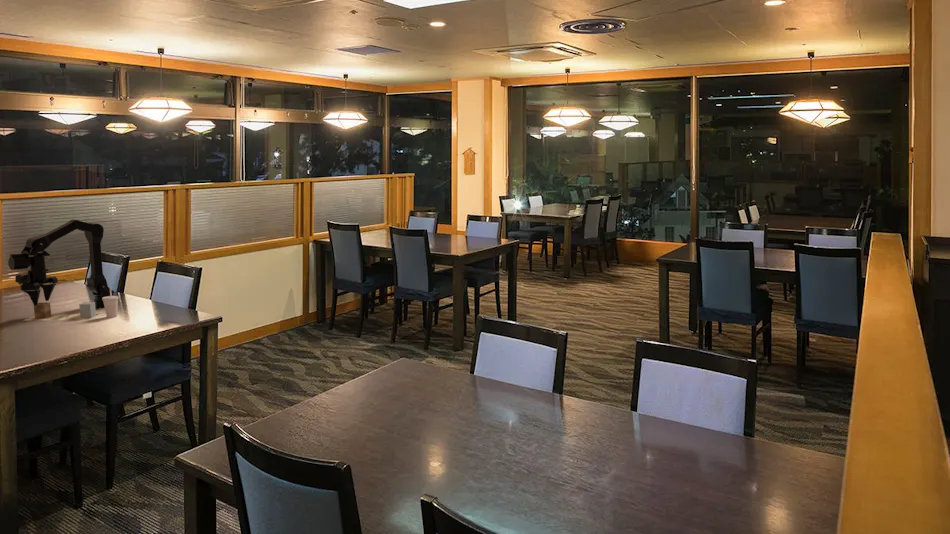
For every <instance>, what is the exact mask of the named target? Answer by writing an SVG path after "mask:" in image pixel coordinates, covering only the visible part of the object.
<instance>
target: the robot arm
mask: <svg viewBox="0 0 950 534" xmlns="http://www.w3.org/2000/svg"><path fill="white" fill-rule="evenodd" d="M76 230H79V231H81V232H84V236H85V239H86V240H87V242H88V248H89V250H88V251H89V262H90V275H89V277H86V283H87V284H86V287H87V288H88V290H89V291H90V292H91V293H92V296H94V299H93V302H95V309H102V308H104V309H105V307H104V302H103V301H102V298H103V297H107V296H110V287H109V286H108V285H109V284H108V281H107V278H106V277H105V275H104V269H103V259H102V244H101V243H102V241H103V238H104V232H105V231H104V226H103V225H102V224H100V223H95V222H85V221H81V220H79V219H70V220H69V221H67V222H66V223H63V224H61V225H59V226H58V227H56V228H54V229H52V230H50V231H48V232H46V233H43V234H38V235H35V236H33V237H30V238H28V239H27V240H26V242H25V246H24V247H23V249H22V250H21V252H19V253H10V254H9V258H8V261H7V263H8V264H7V265H8V267H9V269H10V270H11V271H19V270H27V269H28V268H29V270H28V271H27V273H26V274H24V275H23V274H22V273H20V274H17V275H15V277H14V278H15V279H14V280H15V283H18V285H19V286H20V287H19V288H20V291H22V292H24V293H26V294H27V295H28V296H29V297H30V300H31V302H32V304H33V306H34V305H37V303H39V298H40V295H41V289H42V291H43V296H44V300H45V301H46V302H48V301H49V300H50V298H51V295H52V293H53V291H54V290H55V286H56V285H57V283H58V277H56V276H54V275H53V276H52V275H51V276H48V275H47V272H48V271H49V268H47V266H46V257H50V256H51V254H50V253H49V252H47V251H46V249H48V248H49V247H50V246H51V245H52V244H53V243H54V242H56V241H57V240H58V239H61V238H63V237H64V236H67V235H68V234H70V233H72V232H74V231H76ZM111 293H112V296H114V294H115V293H114V290H113V289H111Z"/></svg>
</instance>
